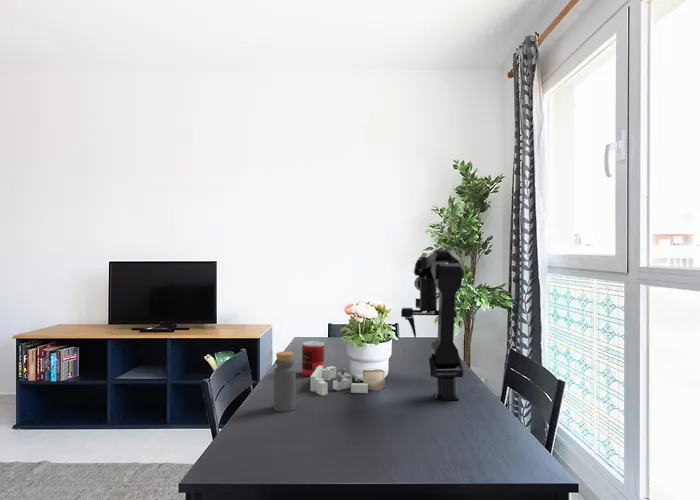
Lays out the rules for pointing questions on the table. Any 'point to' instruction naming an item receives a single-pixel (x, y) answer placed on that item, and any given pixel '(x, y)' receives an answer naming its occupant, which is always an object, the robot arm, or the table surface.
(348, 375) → the plunger
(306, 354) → the canned food
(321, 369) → the dock
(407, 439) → the table surface
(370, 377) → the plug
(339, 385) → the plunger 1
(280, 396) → the bottle
